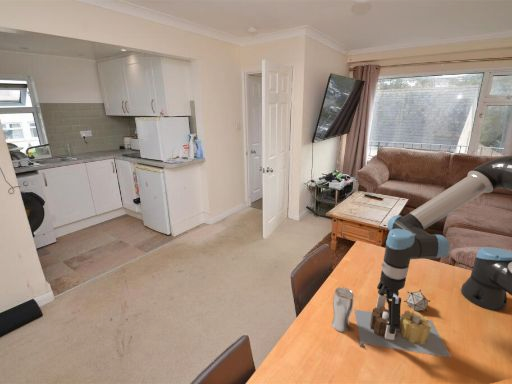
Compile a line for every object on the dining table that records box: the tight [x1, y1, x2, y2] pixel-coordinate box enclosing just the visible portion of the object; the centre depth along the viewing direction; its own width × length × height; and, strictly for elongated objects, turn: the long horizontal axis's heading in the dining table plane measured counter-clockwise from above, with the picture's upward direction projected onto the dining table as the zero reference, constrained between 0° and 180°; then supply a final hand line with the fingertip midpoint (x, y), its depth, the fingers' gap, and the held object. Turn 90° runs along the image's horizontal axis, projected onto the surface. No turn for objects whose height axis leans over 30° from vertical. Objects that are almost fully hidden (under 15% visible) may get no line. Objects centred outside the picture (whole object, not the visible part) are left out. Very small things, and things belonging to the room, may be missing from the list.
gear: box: [399, 310, 431, 344], centre depth 94 cm, size 9×9×6 cm
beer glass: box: [331, 286, 355, 333], centre depth 98 cm, size 7×7×15 cm
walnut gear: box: [370, 306, 398, 339], centre depth 96 cm, size 9×9×6 cm
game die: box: [403, 288, 431, 312], centre depth 107 cm, size 9×8×10 cm
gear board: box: [354, 309, 452, 358], centre depth 95 cm, size 28×16×8 cm, turn 79°
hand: (384, 323), depth 96 cm, fingers open, 13 cm apart
